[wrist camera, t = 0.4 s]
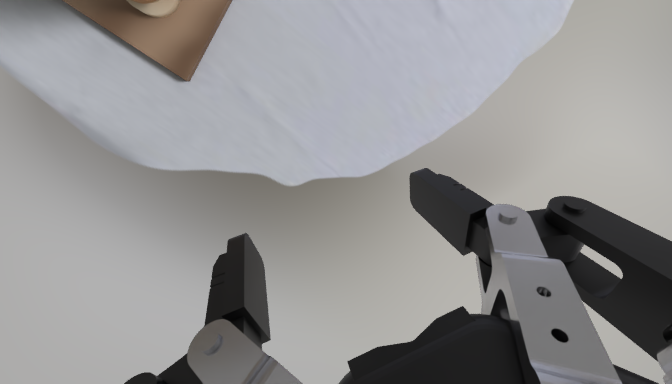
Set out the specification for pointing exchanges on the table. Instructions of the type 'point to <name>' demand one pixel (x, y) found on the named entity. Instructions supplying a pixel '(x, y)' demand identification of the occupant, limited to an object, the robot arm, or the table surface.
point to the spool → (156, 7)
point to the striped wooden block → (161, 29)
